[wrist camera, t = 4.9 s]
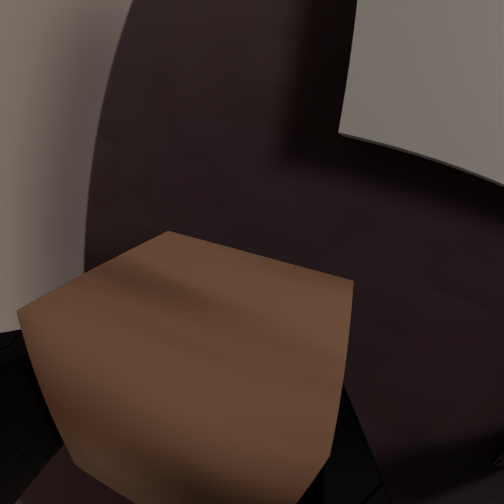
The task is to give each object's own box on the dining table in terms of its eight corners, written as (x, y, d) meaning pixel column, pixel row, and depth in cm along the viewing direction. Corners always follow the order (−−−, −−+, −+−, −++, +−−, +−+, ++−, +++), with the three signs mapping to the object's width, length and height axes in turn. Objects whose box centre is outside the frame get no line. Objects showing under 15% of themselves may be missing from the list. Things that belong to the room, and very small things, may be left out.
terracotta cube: (303, 416, 9) (255, 551, 5) (165, 367, 10) (75, 464, 6) (353, 281, 7) (330, 456, 3) (168, 230, 9) (16, 310, 4)
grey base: (554, 210, 10) (585, 224, 8) (341, 136, 13) (338, 132, 10) (563, 12, 6) (587, -2, 3) (366, -67, 9) (364, -99, 6)
